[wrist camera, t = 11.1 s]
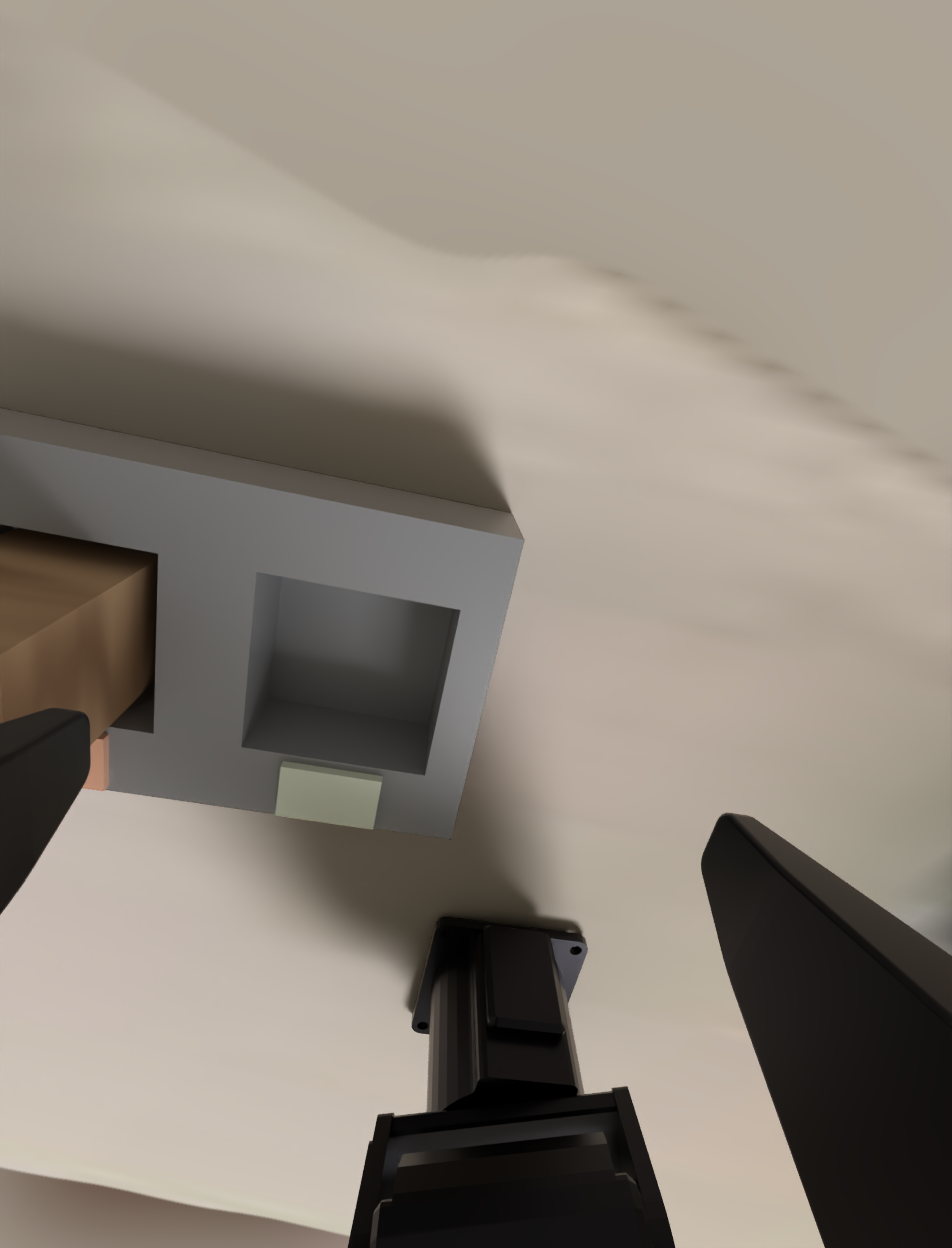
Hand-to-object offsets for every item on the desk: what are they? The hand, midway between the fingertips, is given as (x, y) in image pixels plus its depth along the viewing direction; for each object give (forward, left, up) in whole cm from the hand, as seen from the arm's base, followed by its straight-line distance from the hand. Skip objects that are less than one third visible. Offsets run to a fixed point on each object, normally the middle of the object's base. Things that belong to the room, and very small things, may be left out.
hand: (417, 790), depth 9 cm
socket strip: (-3, +6, -12) cm, 14 cm away
